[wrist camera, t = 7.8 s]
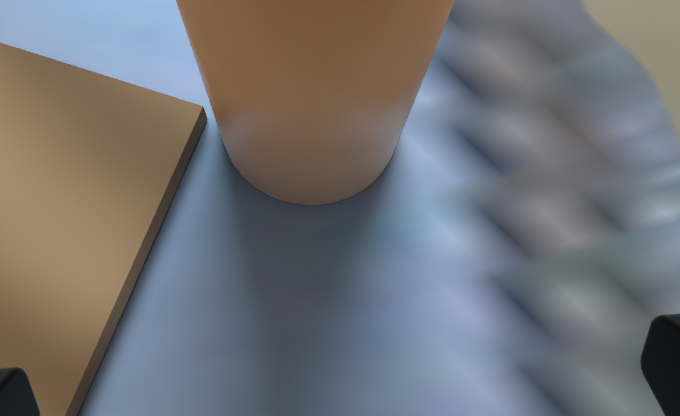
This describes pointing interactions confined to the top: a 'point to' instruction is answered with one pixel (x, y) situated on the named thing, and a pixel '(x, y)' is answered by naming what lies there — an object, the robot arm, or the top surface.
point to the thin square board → (78, 212)
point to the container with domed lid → (312, 86)
